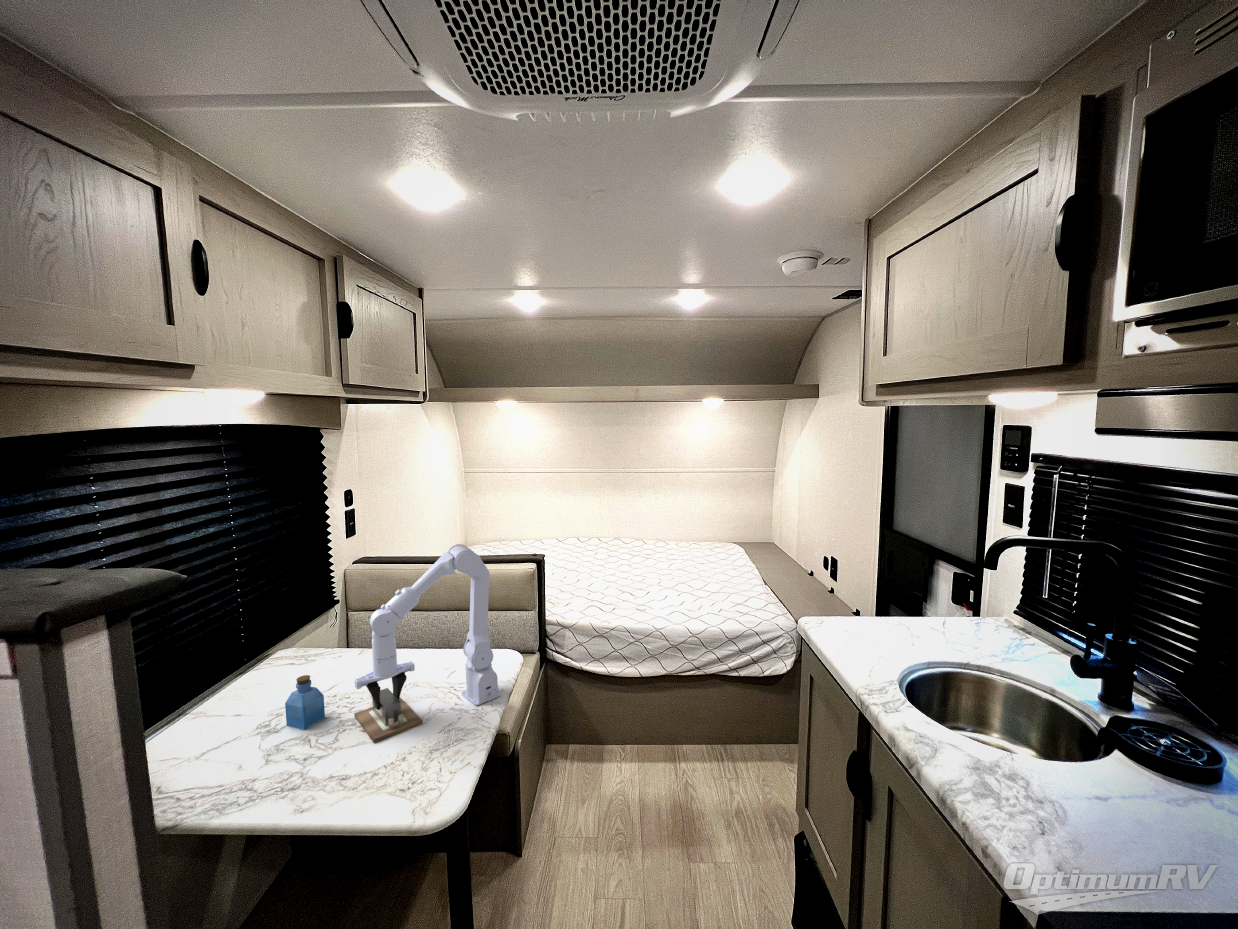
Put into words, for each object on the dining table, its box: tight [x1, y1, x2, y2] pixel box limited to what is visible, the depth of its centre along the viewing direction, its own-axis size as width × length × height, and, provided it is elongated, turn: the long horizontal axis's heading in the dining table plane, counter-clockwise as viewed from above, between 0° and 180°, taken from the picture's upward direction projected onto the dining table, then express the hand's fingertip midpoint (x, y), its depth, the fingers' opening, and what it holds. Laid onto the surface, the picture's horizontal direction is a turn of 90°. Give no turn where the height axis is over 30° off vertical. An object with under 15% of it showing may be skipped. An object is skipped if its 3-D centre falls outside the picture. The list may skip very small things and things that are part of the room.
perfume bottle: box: [284, 674, 326, 731], centre depth 135 cm, size 6×6×12 cm
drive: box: [371, 687, 401, 726], centre depth 136 cm, size 10×4×5 cm, turn 43°
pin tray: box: [354, 697, 423, 744], centre depth 135 cm, size 16×12×4 cm
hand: (387, 705), depth 135 cm, fingers closed on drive, 4 cm apart
